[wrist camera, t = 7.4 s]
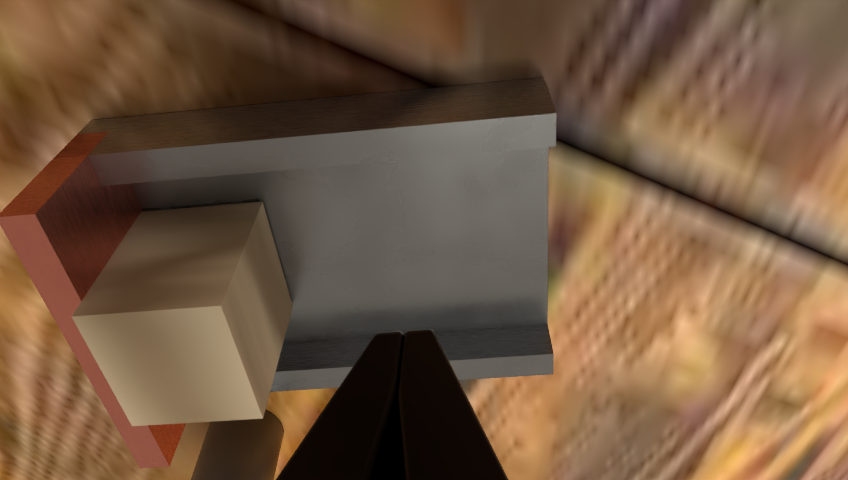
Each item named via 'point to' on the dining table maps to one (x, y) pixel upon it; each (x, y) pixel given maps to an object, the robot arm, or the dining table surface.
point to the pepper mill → (240, 450)
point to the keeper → (190, 315)
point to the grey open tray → (326, 223)
